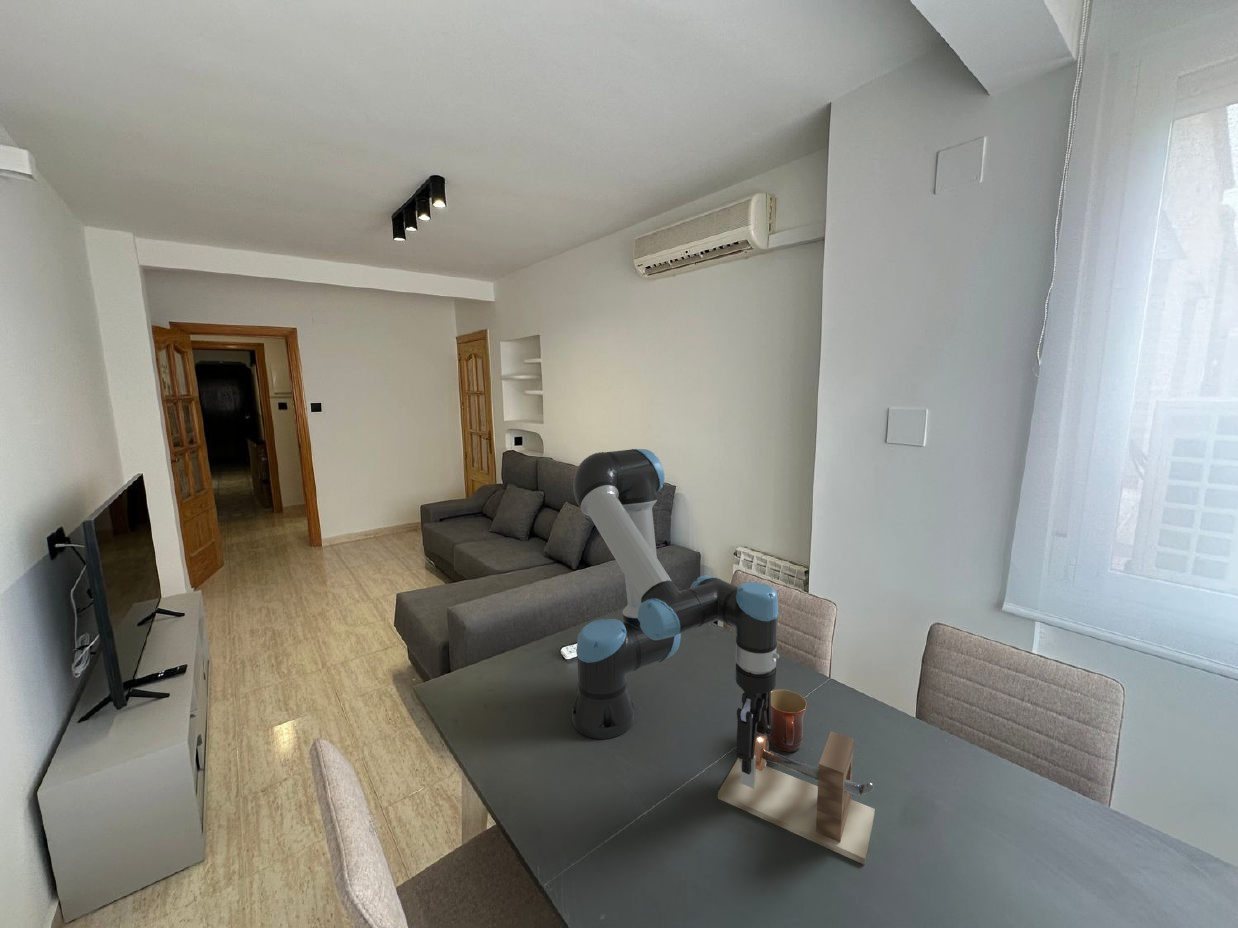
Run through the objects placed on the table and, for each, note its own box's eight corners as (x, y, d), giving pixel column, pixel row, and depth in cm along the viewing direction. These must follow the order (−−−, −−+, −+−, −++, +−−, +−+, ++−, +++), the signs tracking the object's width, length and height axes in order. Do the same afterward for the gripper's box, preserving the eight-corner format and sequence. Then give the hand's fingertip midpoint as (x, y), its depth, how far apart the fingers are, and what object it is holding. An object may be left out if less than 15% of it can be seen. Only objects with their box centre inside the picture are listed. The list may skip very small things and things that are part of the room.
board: (717, 798, 99) (717, 792, 98) (739, 760, 108) (739, 755, 108) (864, 864, 84) (864, 858, 84) (874, 814, 94) (874, 808, 94)
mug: (763, 727, 119) (764, 687, 117) (802, 732, 117) (803, 691, 116) (767, 764, 107) (768, 719, 106) (811, 769, 105) (812, 724, 104)
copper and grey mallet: (735, 767, 99) (735, 739, 98) (745, 749, 104) (746, 722, 103) (870, 823, 86) (872, 791, 85) (875, 799, 91) (876, 769, 90)
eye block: (815, 831, 89) (818, 763, 87) (828, 794, 98) (830, 731, 96) (840, 842, 87) (843, 772, 85) (850, 803, 95) (853, 738, 93)
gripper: (759, 695, 87) (756, 815, 90) (789, 648, 103) (786, 752, 106) (718, 682, 91) (716, 797, 95) (753, 639, 107) (751, 739, 110)
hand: (753, 773), depth 100 cm, fingers closed on copper and grey mallet, 6 cm apart
